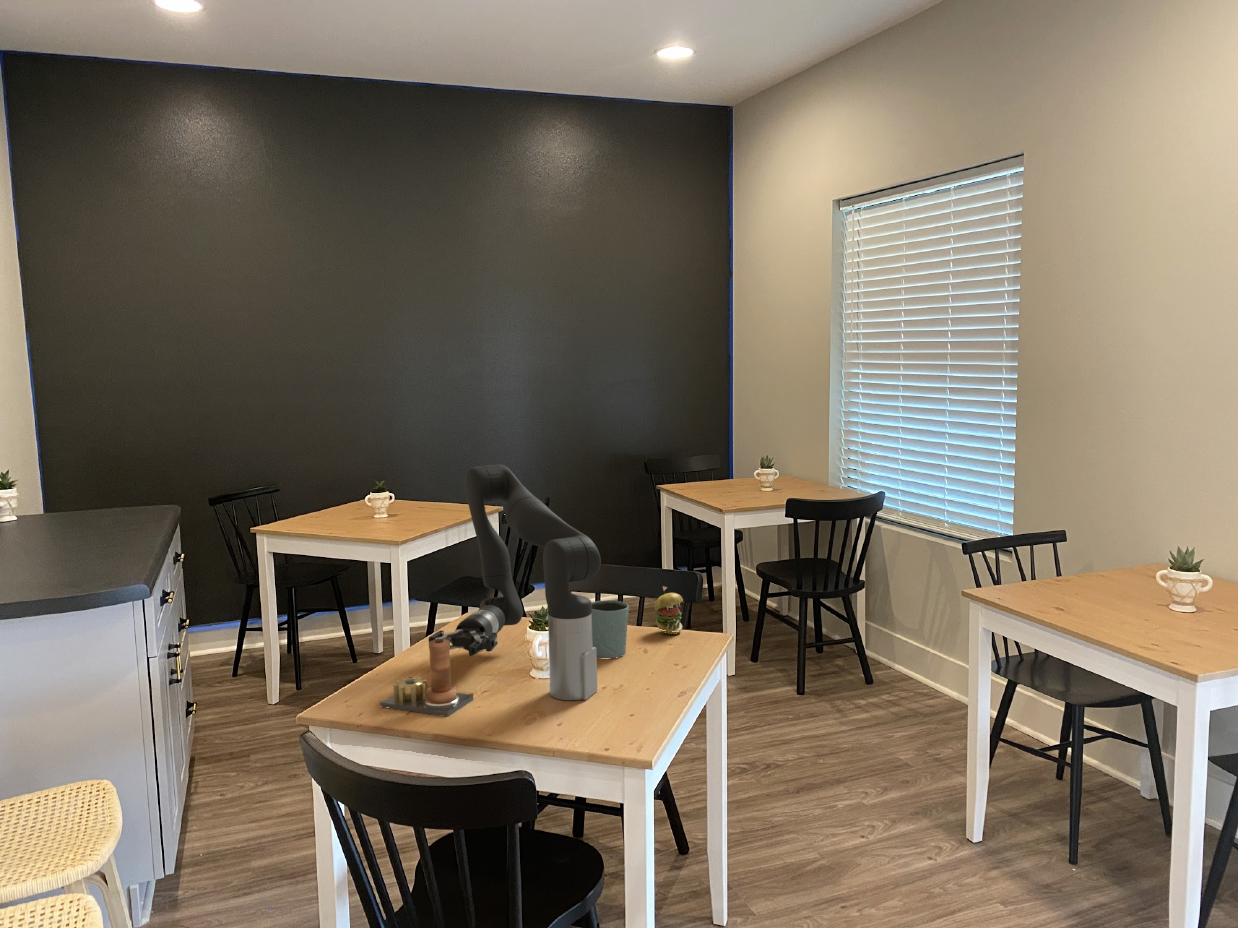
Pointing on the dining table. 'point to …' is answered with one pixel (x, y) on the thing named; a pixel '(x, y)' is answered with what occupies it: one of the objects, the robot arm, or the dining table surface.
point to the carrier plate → (429, 705)
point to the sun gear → (410, 689)
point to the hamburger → (668, 612)
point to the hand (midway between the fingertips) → (451, 650)
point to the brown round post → (440, 673)
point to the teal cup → (609, 628)
